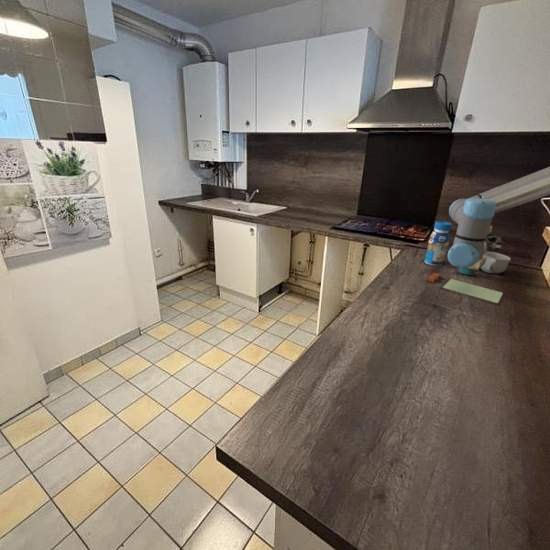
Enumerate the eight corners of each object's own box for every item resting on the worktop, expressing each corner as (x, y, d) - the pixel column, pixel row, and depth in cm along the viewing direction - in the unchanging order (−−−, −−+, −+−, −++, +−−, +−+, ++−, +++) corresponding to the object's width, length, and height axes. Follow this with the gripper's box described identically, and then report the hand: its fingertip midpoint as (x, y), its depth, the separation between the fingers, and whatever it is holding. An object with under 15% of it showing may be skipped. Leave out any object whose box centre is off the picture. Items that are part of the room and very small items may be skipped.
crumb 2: (439, 279, 123) (440, 274, 122) (437, 281, 121) (438, 275, 120) (432, 278, 125) (434, 272, 124) (430, 279, 123) (432, 274, 122)
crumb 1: (436, 277, 119) (430, 275, 121) (434, 278, 117) (428, 276, 119) (435, 282, 120) (429, 280, 122) (433, 284, 118) (426, 282, 120)
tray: (502, 295, 111) (503, 292, 110) (497, 305, 103) (498, 303, 102) (450, 281, 122) (450, 278, 122) (441, 289, 114) (442, 287, 113)
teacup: (481, 265, 141) (486, 249, 137) (508, 272, 133) (514, 255, 130) (470, 272, 132) (475, 255, 129) (498, 279, 125) (504, 262, 122)
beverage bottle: (426, 259, 147) (436, 220, 139) (444, 263, 142) (455, 222, 134) (421, 263, 141) (431, 222, 133) (440, 267, 136) (451, 225, 128)
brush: (484, 263, 112) (497, 225, 106) (477, 270, 105) (490, 229, 99) (472, 260, 114) (484, 223, 108) (465, 267, 108) (477, 227, 102)
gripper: (442, 251, 100) (460, 239, 116) (499, 263, 90) (510, 248, 106) (448, 230, 97) (465, 220, 113) (507, 240, 87) (517, 228, 103)
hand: (487, 234), depth 109 cm, fingers closed on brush, 3 cm apart
